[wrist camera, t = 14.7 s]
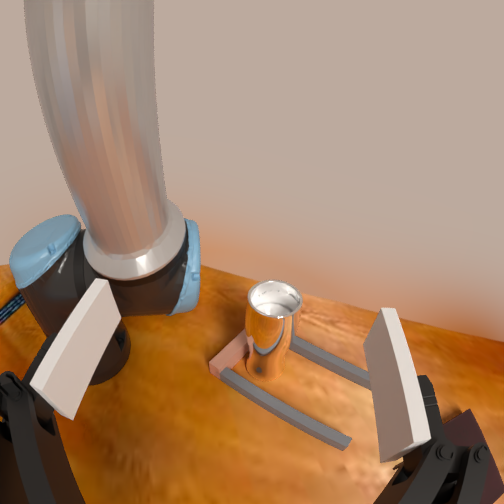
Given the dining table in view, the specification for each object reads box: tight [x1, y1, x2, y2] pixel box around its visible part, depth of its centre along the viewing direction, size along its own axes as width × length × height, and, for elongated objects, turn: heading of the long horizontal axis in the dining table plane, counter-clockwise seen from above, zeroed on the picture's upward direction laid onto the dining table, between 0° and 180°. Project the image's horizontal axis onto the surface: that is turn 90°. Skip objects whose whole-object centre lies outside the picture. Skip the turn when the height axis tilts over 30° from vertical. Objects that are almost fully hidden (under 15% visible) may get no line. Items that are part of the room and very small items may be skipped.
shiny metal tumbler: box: [245, 280, 303, 381], centre depth 37 cm, size 7×7×15 cm
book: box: [443, 409, 504, 504], centre depth 21 cm, size 12×19×3 cm, turn 9°
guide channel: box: [209, 329, 371, 451], centre depth 38 cm, size 23×13×3 cm, turn 54°
